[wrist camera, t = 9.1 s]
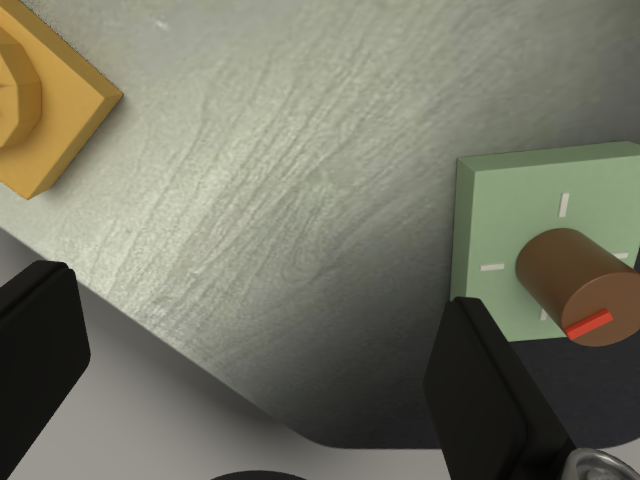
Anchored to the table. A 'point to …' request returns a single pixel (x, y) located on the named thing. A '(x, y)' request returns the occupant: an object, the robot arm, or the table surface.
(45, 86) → the button box
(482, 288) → the panel
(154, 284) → the table surface
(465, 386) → the robot arm
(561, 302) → the knob
